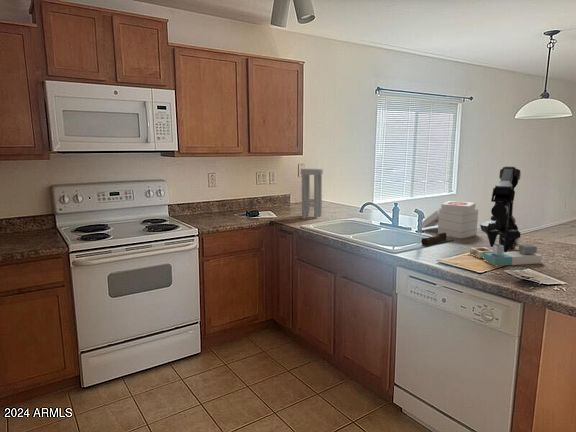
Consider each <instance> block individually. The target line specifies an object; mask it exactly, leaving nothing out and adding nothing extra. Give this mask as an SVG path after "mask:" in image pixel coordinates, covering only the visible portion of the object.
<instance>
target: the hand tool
mask: <svg viewBox="0 0 576 432" xmlns="http://www.w3.org/2000/svg"><path fill="white" fill-rule="evenodd" d="M447 237H448V236H447V235H446V233H439V234H438V233H437V235H435V236H434V235H433V236H429V237H425V238H424V237H423V238H421V240H420V241H421V245H422V244H423V245H422V246H430V244H434V243H438V242H439V241H444V240H445V241H447V239H448V238H447ZM445 241H444V242H445ZM439 243H440V242H439Z"/></svg>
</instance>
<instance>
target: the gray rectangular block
mask: <svg viewBox="0 0 576 432" xmlns="http://www.w3.org/2000/svg"><path fill="white" fill-rule="evenodd" d="M537 249H538V247H537V245H534V244H519V245H518V252H521V253H523V254H525V255H531V254H534V253H537Z"/></svg>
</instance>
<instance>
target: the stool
mask: <svg viewBox="0 0 576 432" xmlns="http://www.w3.org/2000/svg"><path fill="white" fill-rule="evenodd" d="M300 175H301V218H302V219H303V218H304V219H305V218H306V217H307V216H310V214H311V207H312V208H313V214H314V215H313V216H314V217H313V218H314V219H319V217H322V214H323V213H322V196H323V195H322V192H323V191H322V187H323V185H322V181H323V180H322V177H323V176H322V175H324V168H322V167H302V168H300ZM310 176H313V198H311V197H310V196H311V195H310V194H311V193H310V190H311V189H310V184H311V183H310V181H311V180H310V179H311V178H310Z"/></svg>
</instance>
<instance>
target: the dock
mask: <svg viewBox="0 0 576 432" xmlns="http://www.w3.org/2000/svg"><path fill="white" fill-rule="evenodd" d="M542 259H543V255H542V254H540V253H537V252H536V253H534V254H531V255H525V254H523V253H521V252H518V251H516V250H514V251H507V252H504V253H503V256H499V257H496V256H494V255H493V253H484V258H483V260H486V261H488V262H490V263H492V264H494V265H500V266H513V265H514V266H517V265H530V264H531V265H534V264H542V262H543V261H542ZM488 262H487V263H488ZM490 263H489V264H490ZM492 264H491V265H492ZM494 265H493V266H494Z"/></svg>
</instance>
